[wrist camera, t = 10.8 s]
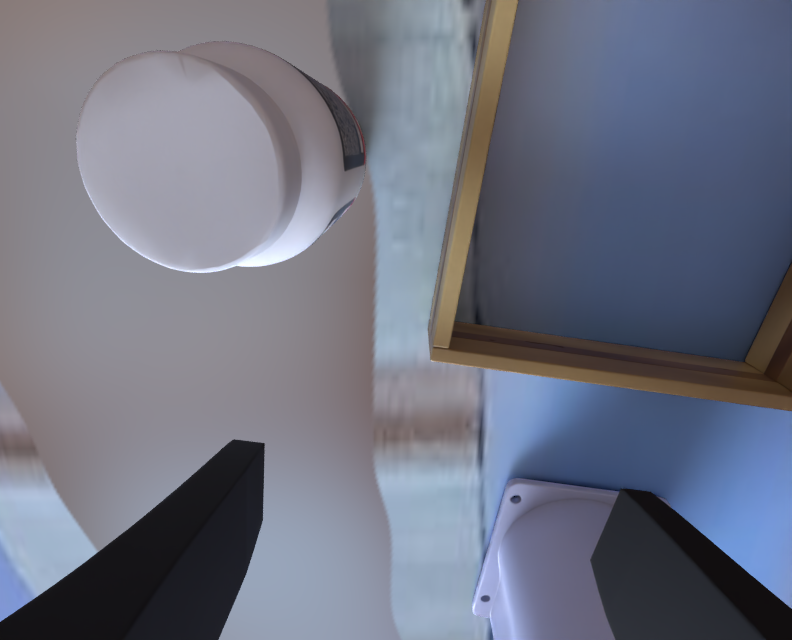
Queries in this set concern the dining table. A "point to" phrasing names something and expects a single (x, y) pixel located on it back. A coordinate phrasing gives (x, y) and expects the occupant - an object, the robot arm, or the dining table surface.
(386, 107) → the dining table surface
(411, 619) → the dining table surface
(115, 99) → the pill bottle
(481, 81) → the picture frame
